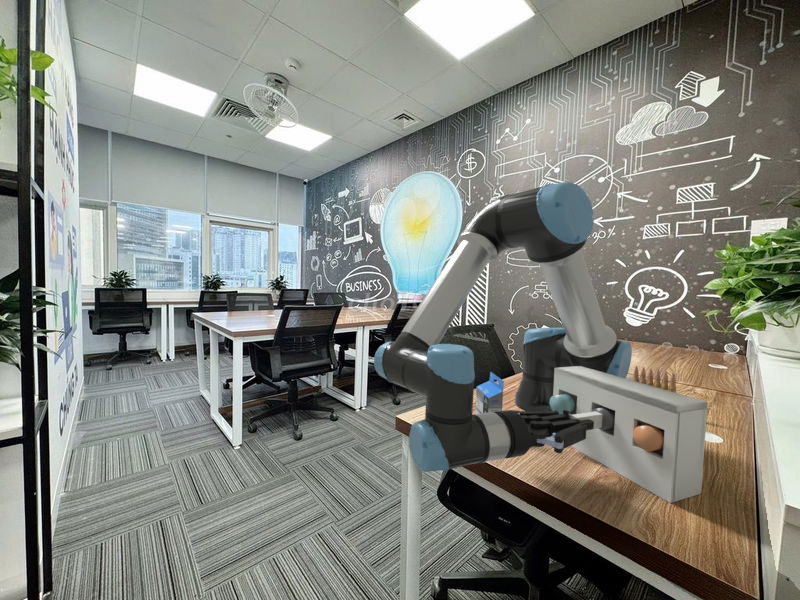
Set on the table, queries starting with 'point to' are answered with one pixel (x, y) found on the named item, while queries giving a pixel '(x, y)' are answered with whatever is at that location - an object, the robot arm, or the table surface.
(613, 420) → the charcoal button
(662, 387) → the ammunition clip
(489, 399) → the label tape cartridge
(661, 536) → the table surface
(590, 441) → the console
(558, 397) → the teal button
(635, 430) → the terracotta button
